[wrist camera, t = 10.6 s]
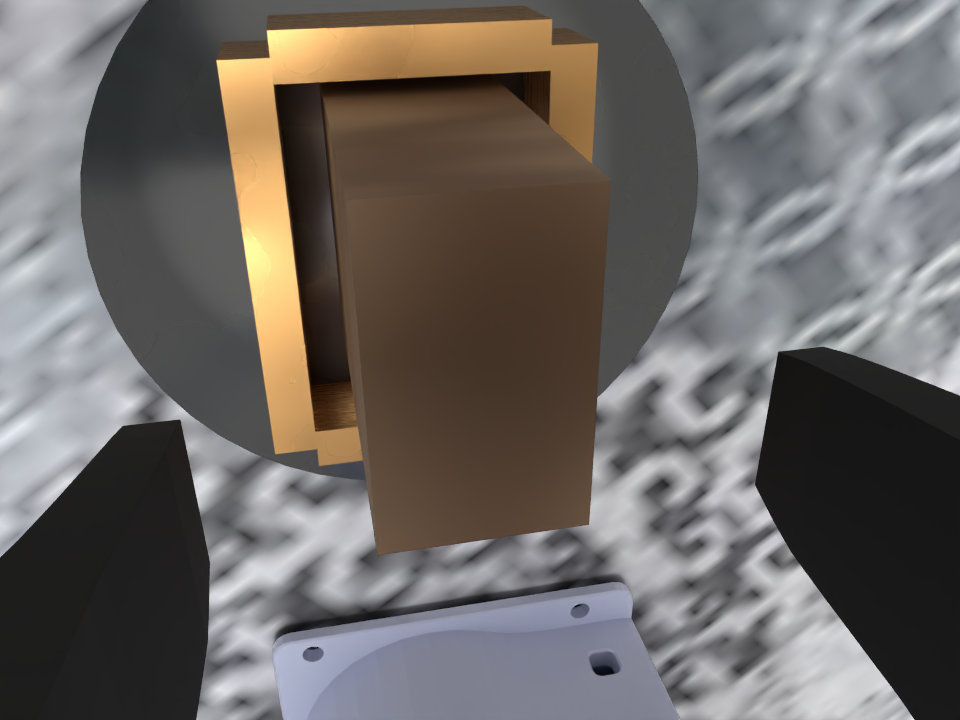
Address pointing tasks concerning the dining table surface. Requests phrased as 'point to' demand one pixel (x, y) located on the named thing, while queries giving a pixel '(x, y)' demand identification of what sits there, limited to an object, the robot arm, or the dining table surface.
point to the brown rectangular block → (466, 306)
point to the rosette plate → (306, 196)
